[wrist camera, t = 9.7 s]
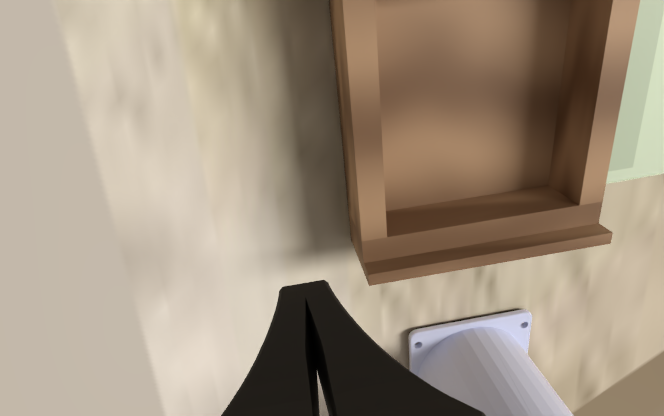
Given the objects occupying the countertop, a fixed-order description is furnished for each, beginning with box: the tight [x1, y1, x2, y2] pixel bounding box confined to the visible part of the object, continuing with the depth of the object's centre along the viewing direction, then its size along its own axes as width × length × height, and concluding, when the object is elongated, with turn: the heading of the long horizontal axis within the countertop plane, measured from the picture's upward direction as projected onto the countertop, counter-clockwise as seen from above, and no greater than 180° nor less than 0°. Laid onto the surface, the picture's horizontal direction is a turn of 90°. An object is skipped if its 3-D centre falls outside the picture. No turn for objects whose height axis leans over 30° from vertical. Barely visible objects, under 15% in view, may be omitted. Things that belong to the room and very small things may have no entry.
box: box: [329, 0, 640, 286], centre depth 20 cm, size 14×12×4 cm
